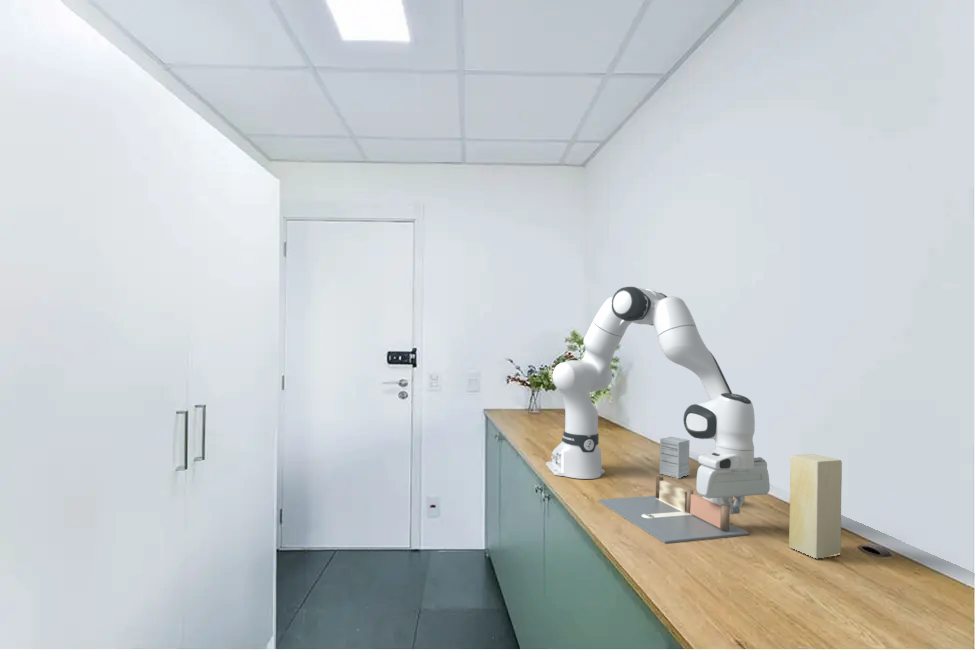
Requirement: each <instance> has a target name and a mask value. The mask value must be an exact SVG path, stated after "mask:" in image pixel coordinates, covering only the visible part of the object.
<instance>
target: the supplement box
mask: <svg viewBox="0 0 975 650" xmlns="http://www.w3.org/2000/svg"><path fill="white" fill-rule="evenodd" d="M659 440H660V442H659V446H660V447H659V451H660V452H659V475H660V474H664V475H668V476H672V477H676V478H680V479H682V478H681V477H683V476H686V475H689V476H690V440H689V439H686V438H680V437H674V436H669V437H667V436H666V437H663V438H659ZM664 475H663V476H664ZM668 476H667V477H668ZM672 477H671V478H672ZM676 478H675V479H676ZM683 478H684V477H683Z"/></svg>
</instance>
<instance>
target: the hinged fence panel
mask: <svg viewBox="0 0 975 650" xmlns="http://www.w3.org/2000/svg"><path fill="white" fill-rule="evenodd" d="M686 491H687V509H686V512H688V513H690V514H692V515H695V516H697V517H699V518H701V519H703V520H705V521H707V522H709V523H711V524H713V525H715V526H717V527H719V528H720V529H721V530H724V531H729V523H730V515H731V514H730V506H729V505H725V503H724V504H721V506H720V505H718V504H716V503H714V502H711V501H709V500H707V499H704V498H703V497H702V496H701V495H699V494H695V493H694V490H693V489H686Z"/></svg>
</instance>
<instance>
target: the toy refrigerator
mask: <svg viewBox="0 0 975 650" xmlns="http://www.w3.org/2000/svg"><path fill="white" fill-rule="evenodd" d="M789 466H790V472H789V527H788V528H789V534H788V537H789V538H788V546H789V548H790V549H791V548H793V549H795V550H794V551H796V550H797V551H796V552H798V551H800V552H802V553H801V554H803V553H805V554H806V556H807V555H809V556H808V557H810V556H811V557H810V558H812V557H813V559H815V558H816V559H815V560H819V559H818V558H822V557H826V556H830V555H834V554H838V553H841V552H842V550H841V549H842V548H841V547H842V540H841V539H842V534H841V533H842V485H843V484H842V483H843V482H842V480H843V478H842V475H843V472H842V471H843V462H842V460H841V459H837V458H834V457H829V456H825V455H819V454H814V453H811V454H810V453H809V454H793V455H790V465H789ZM793 549H792V550H793ZM800 552H799V553H800ZM805 554H804V555H805Z"/></svg>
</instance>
